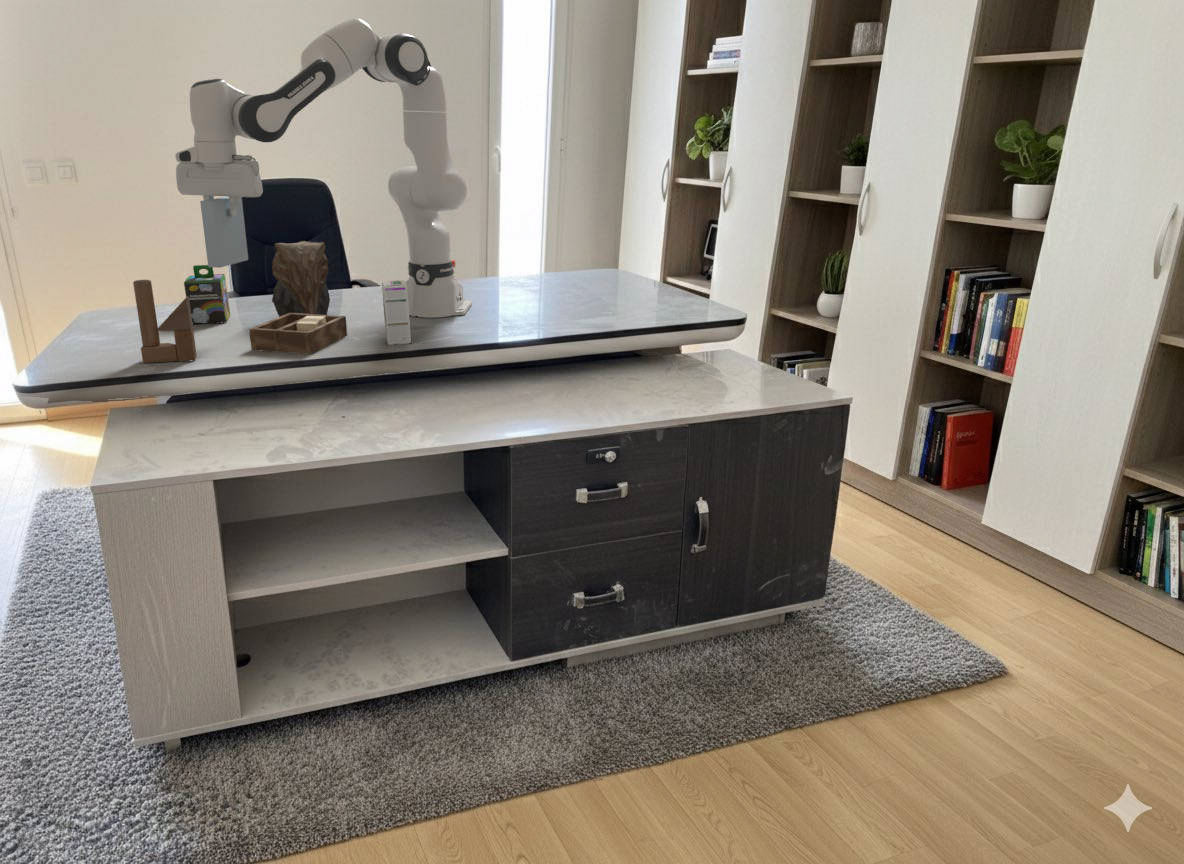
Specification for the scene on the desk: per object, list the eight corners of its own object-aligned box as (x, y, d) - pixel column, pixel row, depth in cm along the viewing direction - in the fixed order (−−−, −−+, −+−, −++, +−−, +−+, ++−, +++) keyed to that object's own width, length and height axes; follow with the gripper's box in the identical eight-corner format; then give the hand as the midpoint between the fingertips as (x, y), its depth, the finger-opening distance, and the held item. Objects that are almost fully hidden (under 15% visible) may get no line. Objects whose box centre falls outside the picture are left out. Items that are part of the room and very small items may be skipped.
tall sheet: (237, 259, 227) (230, 196, 222) (248, 259, 227) (241, 196, 222) (208, 267, 216) (200, 201, 211) (219, 267, 216) (212, 201, 211)
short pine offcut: (307, 323, 226) (306, 315, 226) (326, 324, 226) (325, 316, 226) (297, 331, 219) (296, 323, 218) (316, 331, 219) (315, 323, 218)
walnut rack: (291, 332, 234) (289, 312, 233) (347, 335, 231) (345, 316, 230) (251, 349, 217) (249, 329, 216) (311, 354, 214) (309, 333, 213)
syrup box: (411, 343, 225) (408, 284, 220) (386, 345, 223) (383, 285, 218) (409, 338, 230) (405, 280, 225) (384, 339, 228) (381, 280, 223)
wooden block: (195, 361, 208) (184, 281, 202) (142, 363, 205) (130, 282, 199) (197, 357, 211) (186, 278, 205) (145, 359, 208) (133, 279, 202)
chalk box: (230, 316, 251) (224, 261, 246) (226, 323, 243) (219, 266, 238) (194, 317, 249) (187, 262, 244) (188, 325, 241) (181, 267, 236)
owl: (272, 320, 247) (264, 244, 240) (301, 310, 258) (294, 238, 252) (312, 324, 243) (305, 247, 236) (340, 314, 254) (334, 240, 248)
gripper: (264, 154, 214) (270, 216, 219) (185, 152, 218) (193, 212, 223) (249, 156, 208) (256, 219, 213) (168, 153, 212) (176, 215, 217)
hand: (223, 215), depth 218 cm, fingers closed on tall sheet, 3 cm apart
